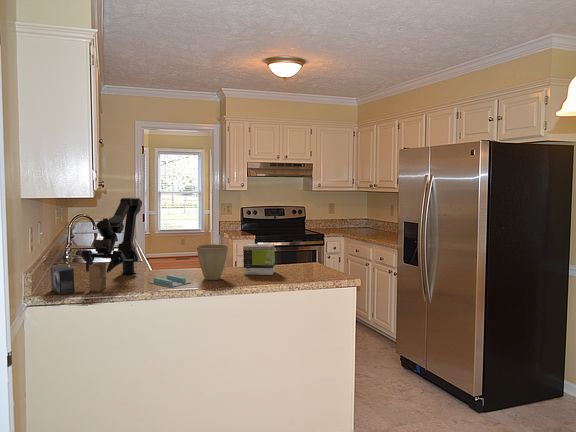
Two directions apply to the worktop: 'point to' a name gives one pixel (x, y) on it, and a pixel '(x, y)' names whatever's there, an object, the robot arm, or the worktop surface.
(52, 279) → the small box
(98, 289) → the brown upright block
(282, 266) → the worktop surface
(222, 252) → the plant pot
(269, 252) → the tea box
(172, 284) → the rack
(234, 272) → the worktop surface
